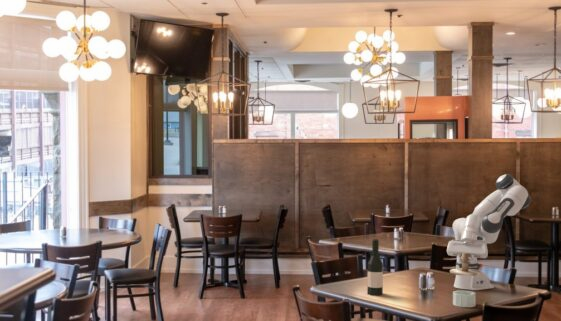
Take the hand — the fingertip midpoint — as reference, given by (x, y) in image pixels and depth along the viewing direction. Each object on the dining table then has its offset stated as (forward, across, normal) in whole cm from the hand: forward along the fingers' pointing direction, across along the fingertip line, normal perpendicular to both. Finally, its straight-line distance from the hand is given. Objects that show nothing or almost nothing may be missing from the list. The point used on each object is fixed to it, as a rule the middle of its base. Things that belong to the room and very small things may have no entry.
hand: (464, 262), depth 343 cm
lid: (+3, 0, +4) cm, 5 cm away
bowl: (+15, 0, +16) cm, 22 cm away
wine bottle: (+14, -48, +17) cm, 53 cm away
